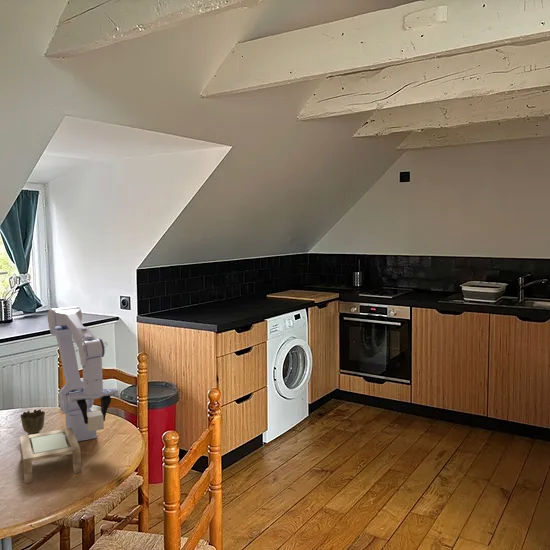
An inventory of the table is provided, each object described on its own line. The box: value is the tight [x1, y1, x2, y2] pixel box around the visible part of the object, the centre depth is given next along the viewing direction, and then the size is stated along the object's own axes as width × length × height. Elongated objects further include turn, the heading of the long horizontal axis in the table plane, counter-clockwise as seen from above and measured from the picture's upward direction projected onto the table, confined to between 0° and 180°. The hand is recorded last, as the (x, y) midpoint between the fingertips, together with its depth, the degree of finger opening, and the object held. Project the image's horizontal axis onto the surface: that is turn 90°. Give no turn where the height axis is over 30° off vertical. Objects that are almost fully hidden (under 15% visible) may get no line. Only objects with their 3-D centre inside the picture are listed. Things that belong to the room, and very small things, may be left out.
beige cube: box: [86, 409, 105, 432], centre depth 175 cm, size 4×4×4 cm
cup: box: [20, 409, 46, 435], centre depth 190 cm, size 8×7×8 cm
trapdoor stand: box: [19, 428, 82, 484], centre depth 168 cm, size 15×18×7 cm
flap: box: [30, 433, 70, 456], centre depth 168 cm, size 10×12×3 cm
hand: (94, 421), depth 176 cm, fingers closed on beige cube, 4 cm apart
